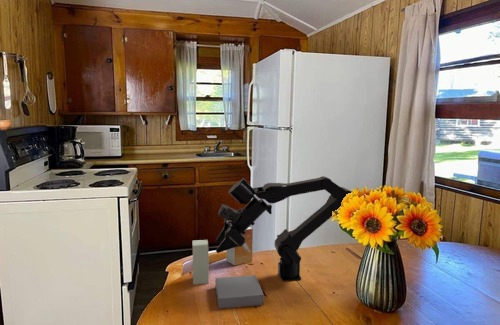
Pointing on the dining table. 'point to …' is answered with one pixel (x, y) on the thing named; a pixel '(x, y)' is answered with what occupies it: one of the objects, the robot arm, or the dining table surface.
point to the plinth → (238, 291)
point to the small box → (242, 250)
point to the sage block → (200, 262)
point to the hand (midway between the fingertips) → (216, 246)
